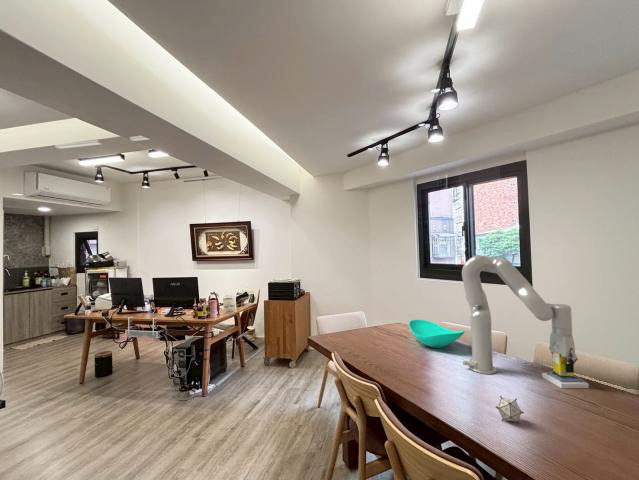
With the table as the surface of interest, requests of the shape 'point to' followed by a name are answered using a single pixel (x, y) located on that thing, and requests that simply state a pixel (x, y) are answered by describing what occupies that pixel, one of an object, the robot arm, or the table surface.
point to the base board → (565, 381)
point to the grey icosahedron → (509, 409)
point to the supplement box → (560, 366)
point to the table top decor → (433, 333)
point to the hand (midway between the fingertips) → (563, 368)
